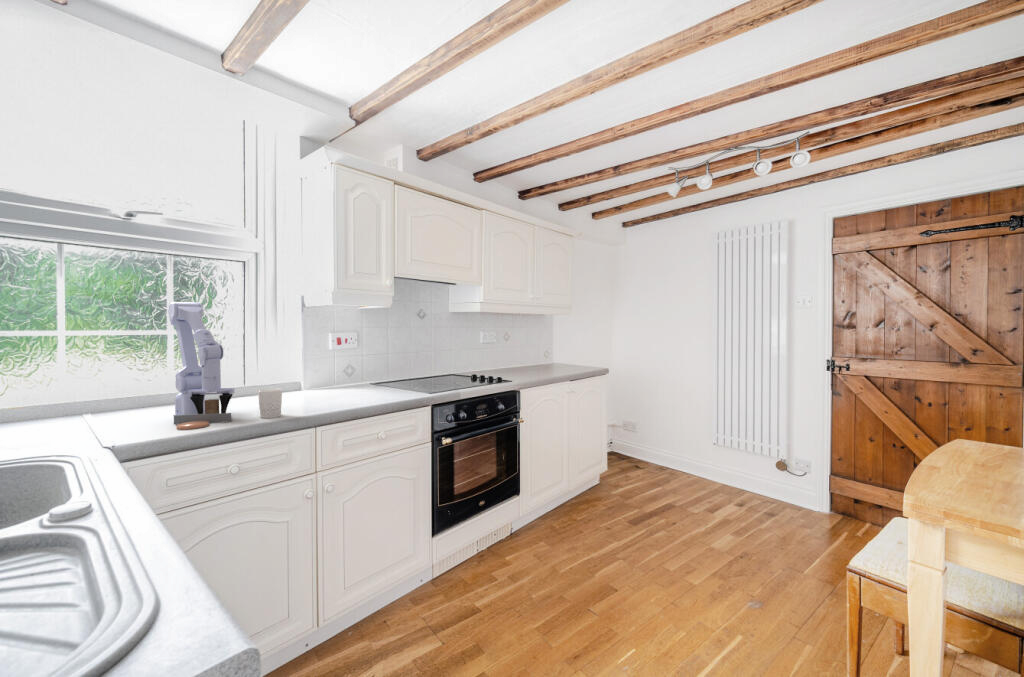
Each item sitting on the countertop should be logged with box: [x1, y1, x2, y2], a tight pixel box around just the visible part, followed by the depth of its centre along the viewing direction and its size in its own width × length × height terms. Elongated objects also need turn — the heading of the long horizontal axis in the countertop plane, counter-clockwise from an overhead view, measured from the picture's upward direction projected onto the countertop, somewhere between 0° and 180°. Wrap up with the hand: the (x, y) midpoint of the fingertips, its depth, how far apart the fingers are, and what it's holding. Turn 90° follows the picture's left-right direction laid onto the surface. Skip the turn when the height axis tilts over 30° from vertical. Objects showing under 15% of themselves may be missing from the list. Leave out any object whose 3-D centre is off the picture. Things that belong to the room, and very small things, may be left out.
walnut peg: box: [205, 398, 220, 414], centre depth 161 cm, size 4×4×7 cm
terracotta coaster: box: [175, 421, 210, 431], centre depth 149 cm, size 9×9×1 cm
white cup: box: [257, 388, 283, 419], centre depth 165 cm, size 8×8×10 cm
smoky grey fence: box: [173, 412, 232, 425], centre depth 155 cm, size 18×1×3 cm, turn 100°
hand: (212, 414), depth 161 cm, fingers open, 7 cm apart
